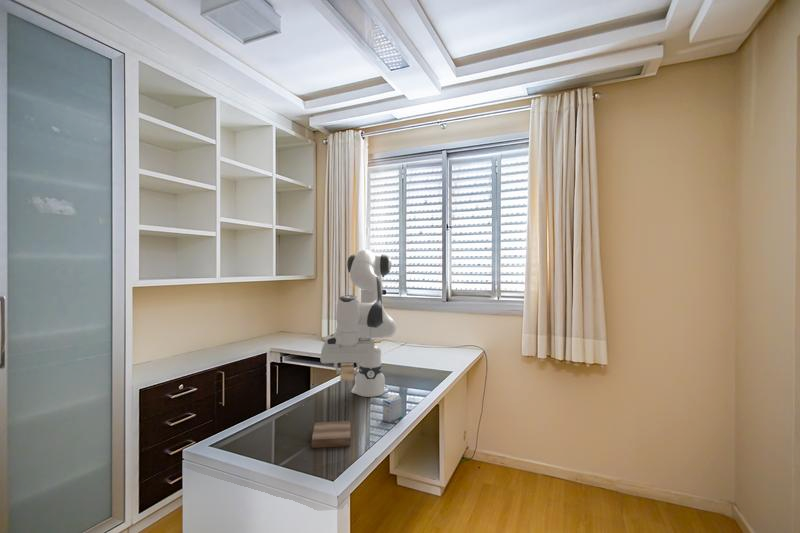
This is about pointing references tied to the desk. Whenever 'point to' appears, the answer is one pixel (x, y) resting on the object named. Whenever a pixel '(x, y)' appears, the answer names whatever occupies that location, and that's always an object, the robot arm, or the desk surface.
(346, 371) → the oak cube
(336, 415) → the desk surface
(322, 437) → the block
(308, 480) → the desk surface
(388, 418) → the medicine box
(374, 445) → the desk surface
